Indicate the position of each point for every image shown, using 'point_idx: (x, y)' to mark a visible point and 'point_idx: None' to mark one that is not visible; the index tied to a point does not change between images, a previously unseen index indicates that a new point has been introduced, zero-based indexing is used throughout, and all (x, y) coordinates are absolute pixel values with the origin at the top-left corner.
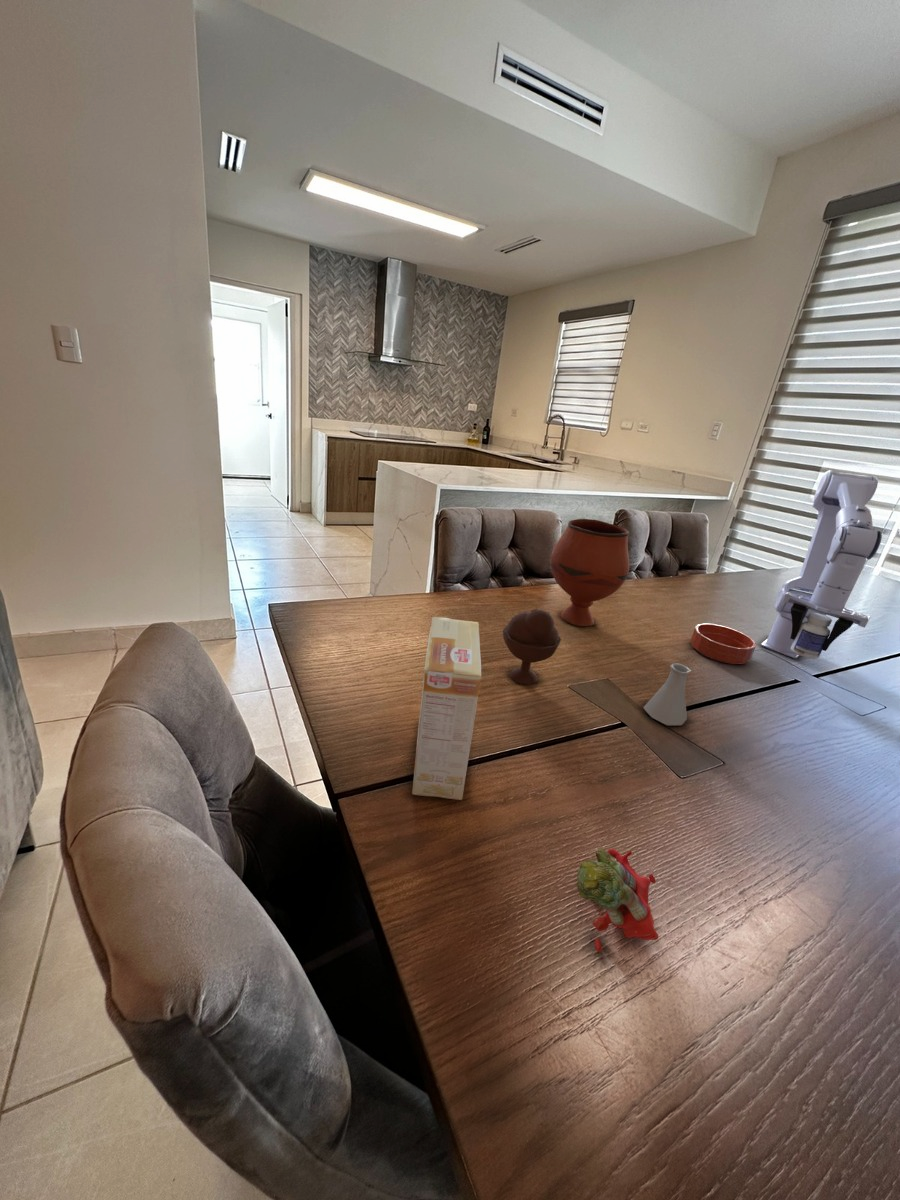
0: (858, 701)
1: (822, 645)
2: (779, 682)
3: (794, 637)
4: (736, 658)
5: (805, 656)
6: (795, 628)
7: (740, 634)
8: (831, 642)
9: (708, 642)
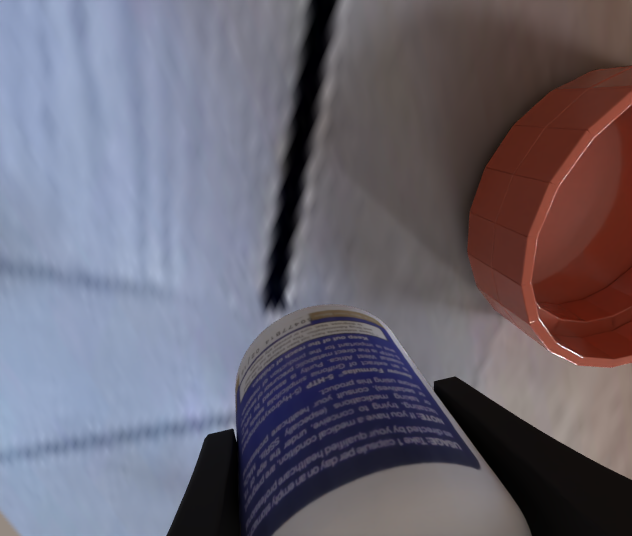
0: (49, 390)
1: (241, 457)
2: (308, 195)
3: (445, 390)
4: (529, 134)
5: (289, 314)
6: (522, 443)
7: (593, 353)
8: (174, 522)
9: None
